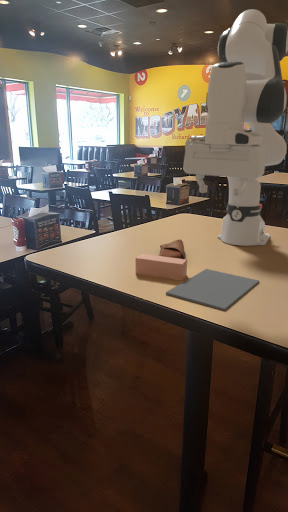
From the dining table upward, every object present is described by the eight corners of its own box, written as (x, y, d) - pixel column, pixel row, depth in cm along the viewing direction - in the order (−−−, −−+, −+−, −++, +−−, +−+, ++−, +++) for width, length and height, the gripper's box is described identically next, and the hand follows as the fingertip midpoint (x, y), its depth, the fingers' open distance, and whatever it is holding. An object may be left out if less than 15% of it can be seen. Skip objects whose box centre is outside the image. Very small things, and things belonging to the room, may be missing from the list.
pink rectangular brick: (141, 269, 114) (141, 253, 113) (186, 276, 109) (187, 259, 107) (135, 274, 110) (135, 257, 109) (181, 281, 105) (182, 264, 103)
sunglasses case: (158, 244, 133) (171, 230, 131) (173, 257, 134) (186, 243, 132) (156, 260, 116) (171, 244, 114) (174, 274, 117) (188, 259, 115)
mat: (206, 270, 112) (206, 268, 112) (258, 282, 103) (259, 280, 103) (165, 294, 95) (165, 292, 95) (224, 310, 86) (224, 308, 86)
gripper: (179, 136, 94) (177, 191, 98) (260, 137, 82) (254, 200, 87) (191, 135, 99) (189, 188, 103) (270, 136, 87) (264, 196, 92)
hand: (220, 194), depth 95 cm, fingers open, 8 cm apart
